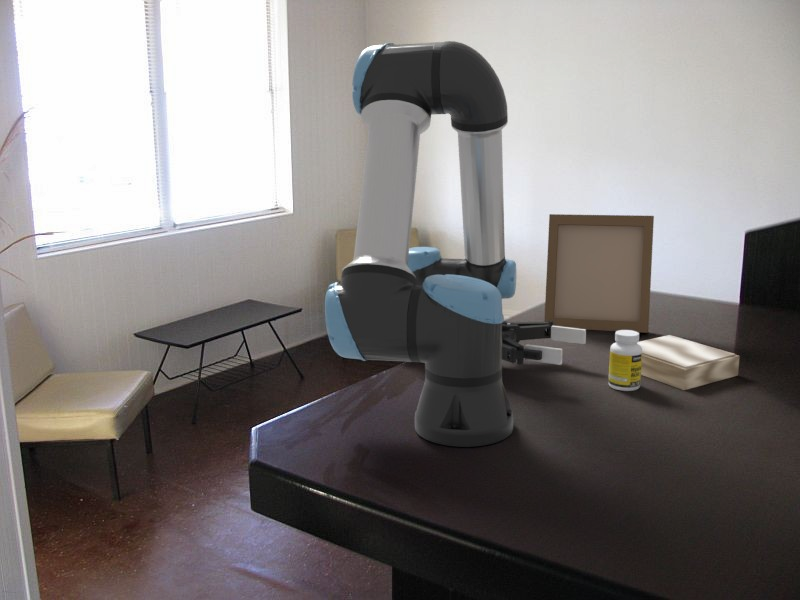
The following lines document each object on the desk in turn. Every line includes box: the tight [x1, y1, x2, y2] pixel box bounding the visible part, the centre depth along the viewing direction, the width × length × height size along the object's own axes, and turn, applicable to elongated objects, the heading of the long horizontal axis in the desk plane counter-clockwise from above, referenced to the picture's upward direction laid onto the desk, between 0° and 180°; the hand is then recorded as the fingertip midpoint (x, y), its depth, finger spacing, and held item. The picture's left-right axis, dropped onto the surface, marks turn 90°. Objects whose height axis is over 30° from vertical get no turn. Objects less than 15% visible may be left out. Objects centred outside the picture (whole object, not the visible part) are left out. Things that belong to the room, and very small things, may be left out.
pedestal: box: [637, 334, 740, 391], centre depth 147 cm, size 14×16×4 cm
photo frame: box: [543, 213, 655, 334], centre depth 175 cm, size 15×22×25 cm
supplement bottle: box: [608, 330, 642, 392], centre depth 138 cm, size 5×5×10 cm
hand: (574, 346), depth 143 cm, fingers open, 13 cm apart
